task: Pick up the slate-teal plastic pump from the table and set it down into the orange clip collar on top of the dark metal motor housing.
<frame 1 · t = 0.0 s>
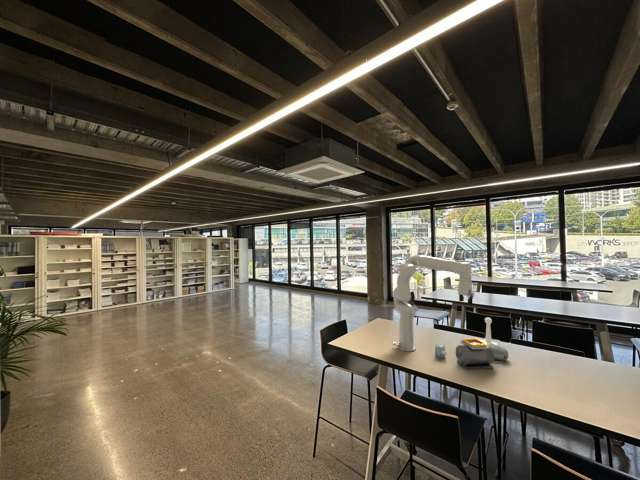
hand: (465, 302, 192), 31 cm above the table, fingers open, 9 cm apart
pump: (440, 356, 173), on the table
joystick: (488, 345, 192), on the table
motor: (474, 365, 160), on the table
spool: (495, 358, 170), on the table
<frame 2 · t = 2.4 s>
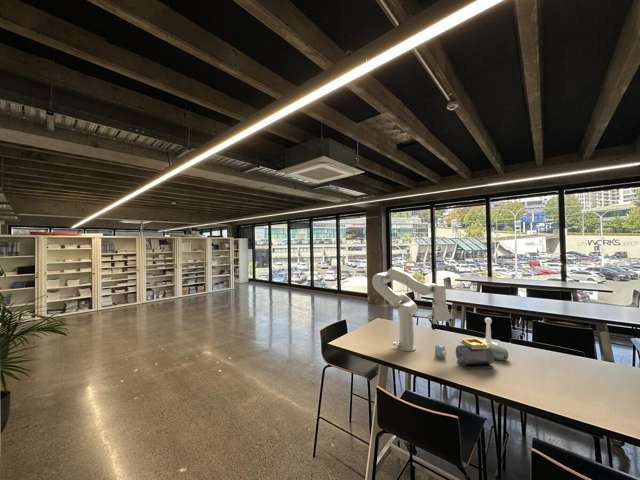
hand: (440, 329, 173), 18 cm above the table, fingers open, 9 cm apart
nothing on the table moved.
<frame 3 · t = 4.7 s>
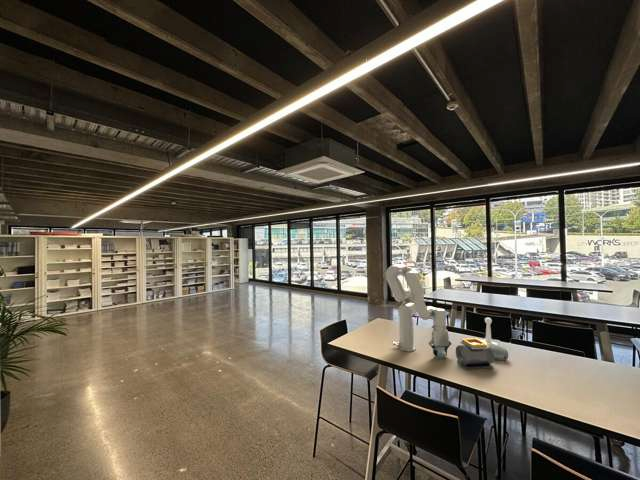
hand: (440, 354, 173), 1 cm above the table, fingers closed on pump, 6 cm apart
pump: (440, 356, 173), on the table, touching gripper
everything else where it was.
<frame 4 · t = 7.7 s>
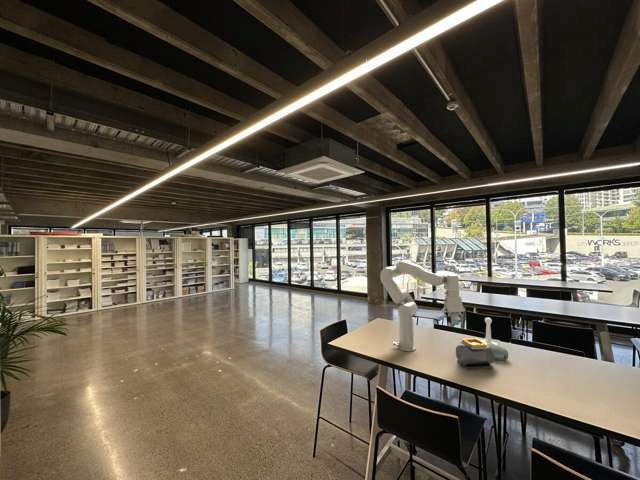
hand: (453, 321, 168), 24 cm above the table, fingers closed on pump, 6 cm apart
pump: (454, 323, 168), point 23 cm above the table, touching gripper
everything else where it was.
when the fingers open (16 cm above the table, at t = 10.7 s): pump drops 2 cm, resting on motor.
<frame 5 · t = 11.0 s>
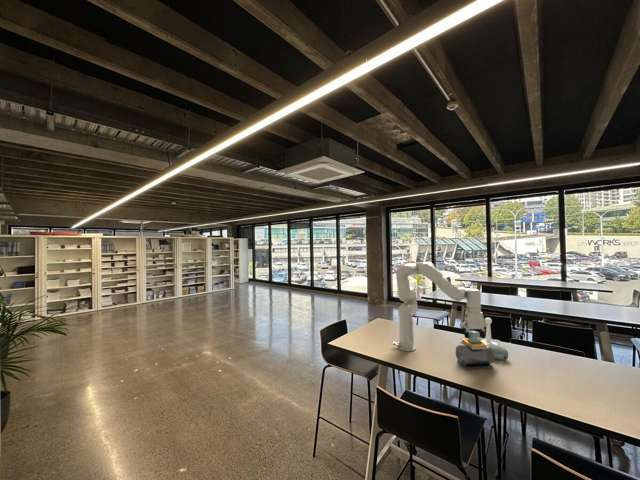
hand: (474, 337, 160), 17 cm above the table, fingers open, 9 cm apart
pump: (474, 343, 160), point 13 cm above the table, touching motor
everything else where it was.
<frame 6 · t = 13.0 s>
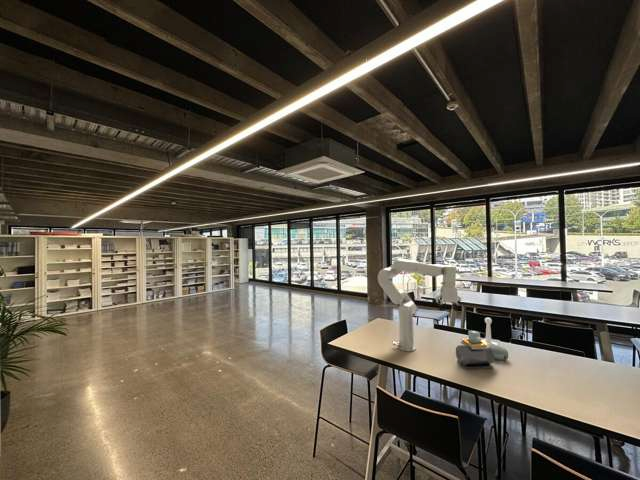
hand: (447, 310, 173), 30 cm above the table, fingers open, 9 cm apart
nothing on the table moved.
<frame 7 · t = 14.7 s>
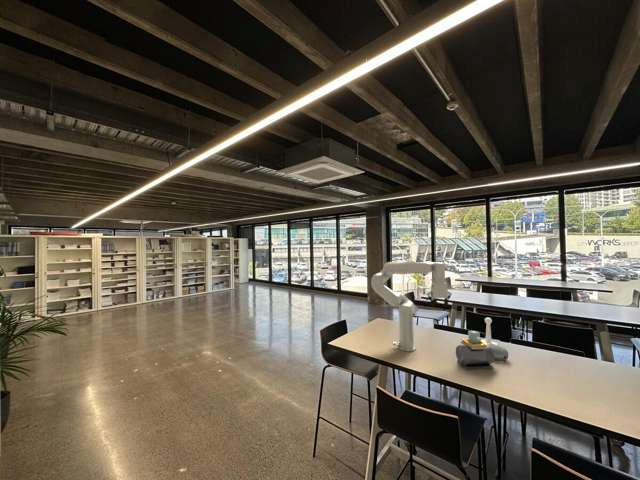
hand: (439, 305, 178), 32 cm above the table, fingers open, 9 cm apart
nothing on the table moved.
at the end: pump 0.0 cm off-centre on the motor, point 13.1 cm above the motor's base; pump tilted 1°; the gripper is holding nothing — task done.
